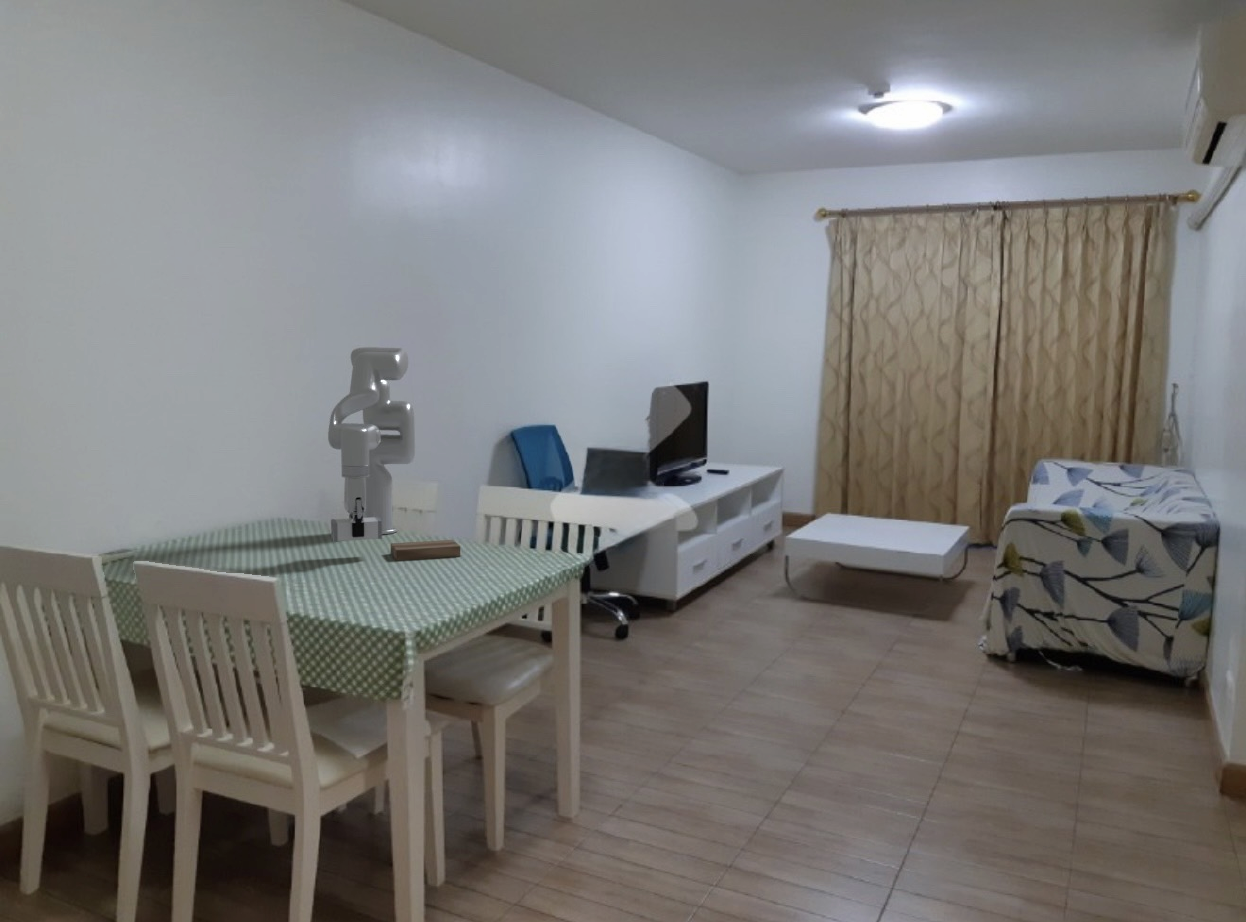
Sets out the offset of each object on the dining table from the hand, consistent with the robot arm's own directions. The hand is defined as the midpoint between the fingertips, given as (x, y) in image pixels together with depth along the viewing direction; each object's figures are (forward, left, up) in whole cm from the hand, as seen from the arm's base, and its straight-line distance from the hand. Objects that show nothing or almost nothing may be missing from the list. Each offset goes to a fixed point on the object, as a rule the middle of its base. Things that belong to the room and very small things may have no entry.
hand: (356, 533), depth 270 cm
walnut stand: (+3, +19, -7) cm, 20 cm away
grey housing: (0, 0, -1) cm, 1 cm away
